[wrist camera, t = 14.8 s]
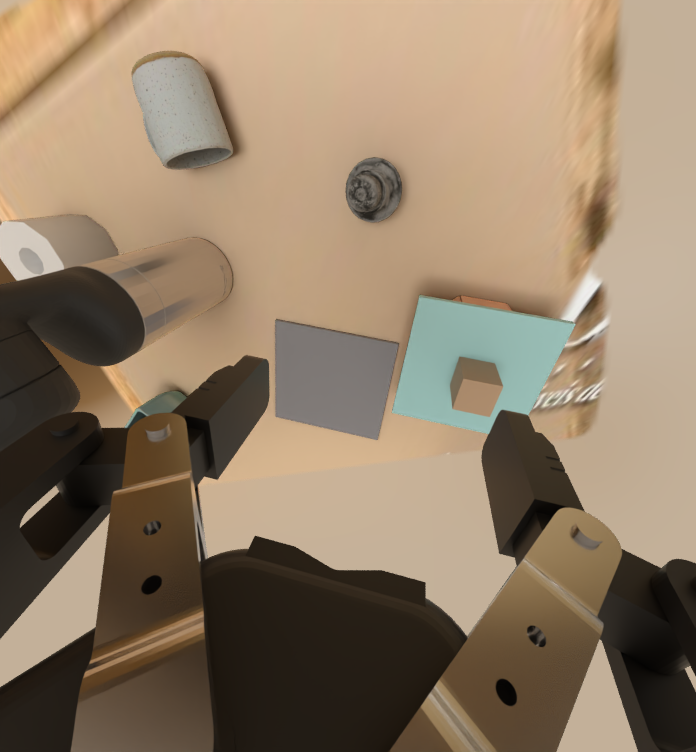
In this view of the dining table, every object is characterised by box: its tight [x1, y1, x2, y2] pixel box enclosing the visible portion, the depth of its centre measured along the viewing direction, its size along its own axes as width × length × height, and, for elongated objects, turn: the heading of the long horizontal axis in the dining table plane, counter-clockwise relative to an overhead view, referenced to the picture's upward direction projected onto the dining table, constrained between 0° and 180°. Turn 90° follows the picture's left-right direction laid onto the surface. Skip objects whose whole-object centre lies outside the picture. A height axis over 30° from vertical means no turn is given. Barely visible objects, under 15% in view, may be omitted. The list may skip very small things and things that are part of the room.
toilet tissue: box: [0, 215, 118, 281], centre depth 45 cm, size 9×13×9 cm
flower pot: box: [124, 391, 187, 428], centre depth 58 cm, size 9×9×9 cm
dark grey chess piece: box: [346, 157, 402, 222], centre depth 32 cm, size 6×6×12 cm
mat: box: [275, 319, 399, 440], centre depth 52 cm, size 18×18×1 cm
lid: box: [392, 295, 575, 434], centre depth 37 cm, size 16×16×6 cm
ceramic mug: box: [132, 51, 233, 170], centre depth 35 cm, size 11×8×8 cm
